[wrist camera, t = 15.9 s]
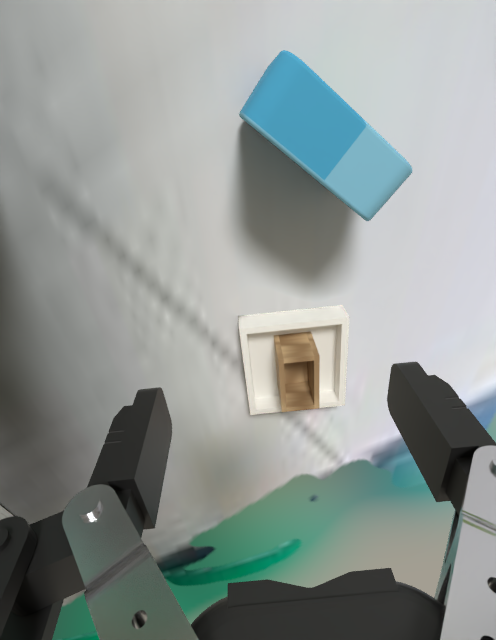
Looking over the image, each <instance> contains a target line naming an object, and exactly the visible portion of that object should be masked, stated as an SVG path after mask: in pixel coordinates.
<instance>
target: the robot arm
mask: <svg viewBox="0 0 496 640" xmlns="http://www.w3.org/2000/svg"><path fill="white" fill-rule="evenodd" d="M387 402H388V408H389V411H390V414H391V416H392V418H393V420H394V422H395V424H396V426H397V428H398V430H399V432H400V433H401V435H402V437H403V439H404V441H405V443H406V445H407V447H408V449H409V451H410V453H411V454H412V456H413V458H414V460H415V462H416V464H417V466H418V468H419V470H420V472H421V474H422V475H423V477H424V479H425V481H426V483H427V485H428V487H429V489H430V491H431V493H432V494H433V496H434V498H435V500H436V502H442V501H451V503H452V504H453V507H454V508H455V512H454V515H453V519H452V524H451V528H450V533H449V538H448V542H447V547H446V552H445V556H444V561H443V566H442V570H441V574H440V578H439V582H438V585H437V589H436V593H435V597H434V598H433V597H431V596H430V595H428V594H426V593H425V592H423V591H421V590H419V589H417V588H415V587H412V586H410V585H407V584H404V583H401V582H396V581H395V579H394V576H393V573H392V570H391V568H385V569H375V570H364V571H353V572H349V573H347V574H344V575H342V576H340V577H337V578H335V579H332V580H330V581H328V582H326V583H323V584H321V585H318V586H316V587H313V588H306V587H301V586H296V585H291V584H286V583H282V582H277V581H272V580H260V581H259V580H258V581H249V582H239V583H228V597H226V598H224V599H221V600H219V601H218V602H216V603H214V604H213V605H211V606H210V607H209V608H207V609H206V610H205V611H204V612H203V613H201V614H200V615H199V617H197V618H196V619H195V620H194V622H193V623H192V624H191V625H190V623H189V621H188V620H187V618H186V616H185V614H184V612H183V611H182V609H181V607H180V605H179V604H178V602H177V600H176V598H175V596H174V594H173V593H172V591H171V589H170V587H169V586H168V584H167V582H166V580H165V578H164V577H163V575H162V573H161V571H160V569H159V568H158V566H157V564H156V562H155V560H154V559H153V557H152V555H151V553H150V552H149V550H148V548H147V547H146V545H144V543H143V541H142V539H141V537H142V532H143V529H152V528H155V524H156V519H157V513H158V508H159V502H160V497H161V491H162V486H163V480H164V475H165V470H166V464H167V459H168V453H169V448H170V442H171V437H172V423H171V418H170V414H169V411H168V407H167V404H166V400H165V397H164V394H163V391H162V389H161V388H150V389H141V390H138V392H137V394H136V397H135V400H134V403H133V405H132V406H124V407H123V408H122V409H121V410H120V412H119V413H118V414H117V415H116V416H115V417H114V419H113V421H112V424H111V427H110V429H109V434H108V435H107V437H106V440H105V444H104V445H103V448H102V450H101V453H100V455H99V458H98V461H97V463H96V466H95V469H94V471H93V474H92V476H91V479H90V482H89V484H88V486H87V488H85V489H84V490H82V491H80V492H79V493H78V494H76V495H75V496H74V497H73V498H72V499H71V500H70V502H69V503H68V504H67V506H66V508H65V510H64V511H62V512H60V513H58V514H55V515H53V516H50V517H48V518H45V519H43V520H40V521H38V522H35V523H33V524H30V525H29V524H28V523H27V521H26V520H25V519H23V518H21V517H17V516H13V517H7V518H4V519H2V520H0V640H52V637H53V634H54V630H55V627H56V624H57V620H58V617H59V613H60V610H61V607H62V603H63V600H64V598H66V597H69V596H71V595H73V594H75V593H77V592H79V591H82V590H84V589H86V591H85V592H84V594H85V599H86V602H87V605H88V608H89V610H90V614H91V616H92V619H93V622H94V625H95V627H96V630H97V633H98V636H99V639H100V640H496V443H495V441H494V440H493V439H492V438H491V436H490V435H489V434H488V433H487V431H486V430H485V429H484V428H483V426H482V425H481V424H480V423H479V421H478V420H477V419H476V418H475V416H474V415H473V414H472V413H471V411H470V410H469V409H467V408H466V405H465V404H464V402H463V401H462V400H461V399H459V396H458V395H457V394H456V392H455V391H454V390H453V389H452V387H451V386H450V385H449V384H448V383H446V382H445V381H443V380H442V379H440V378H439V377H437V376H436V375H430V376H428V375H427V374H426V373H425V371H424V370H423V368H422V367H421V366H420V364H419V363H417V362H408V363H398V364H393V365H392V367H391V374H390V381H389V389H388V396H387Z"/></svg>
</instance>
